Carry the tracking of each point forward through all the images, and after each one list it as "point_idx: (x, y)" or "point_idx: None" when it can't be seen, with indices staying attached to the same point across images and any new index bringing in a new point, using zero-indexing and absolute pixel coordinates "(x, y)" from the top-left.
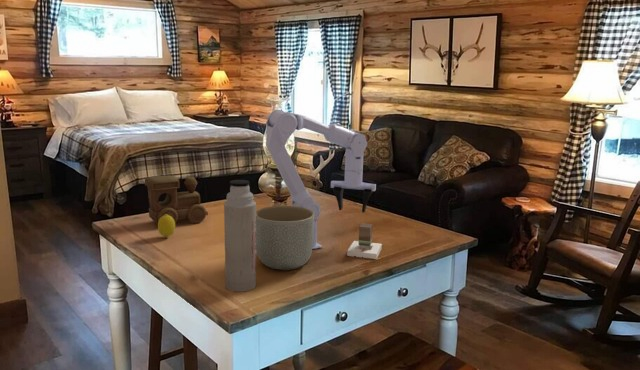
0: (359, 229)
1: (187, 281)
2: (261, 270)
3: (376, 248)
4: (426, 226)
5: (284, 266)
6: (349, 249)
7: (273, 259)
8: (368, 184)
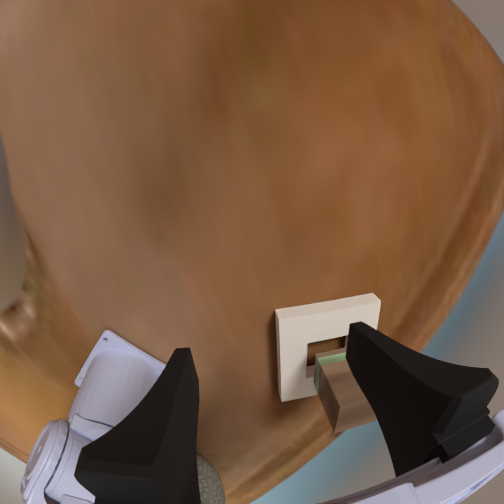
0: (331, 424)
1: None
2: None
3: None
4: (447, 4)
5: None
6: (285, 392)
7: None
8: (479, 485)
